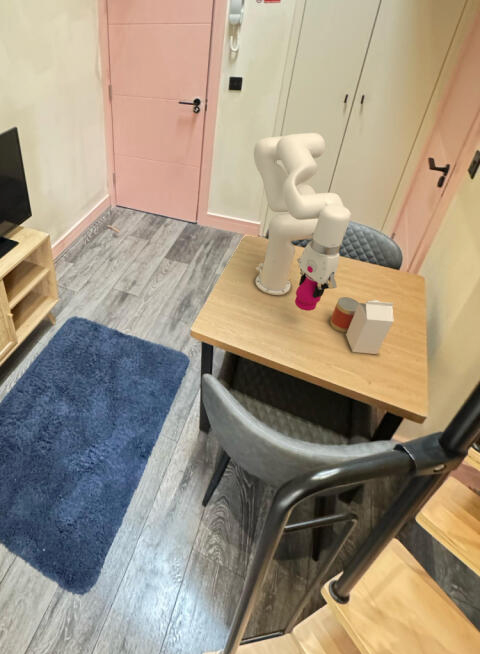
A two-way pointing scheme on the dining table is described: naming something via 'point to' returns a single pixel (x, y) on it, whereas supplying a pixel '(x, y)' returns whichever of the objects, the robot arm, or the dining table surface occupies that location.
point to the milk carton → (370, 326)
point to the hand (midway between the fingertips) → (310, 289)
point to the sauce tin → (343, 313)
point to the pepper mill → (307, 293)
